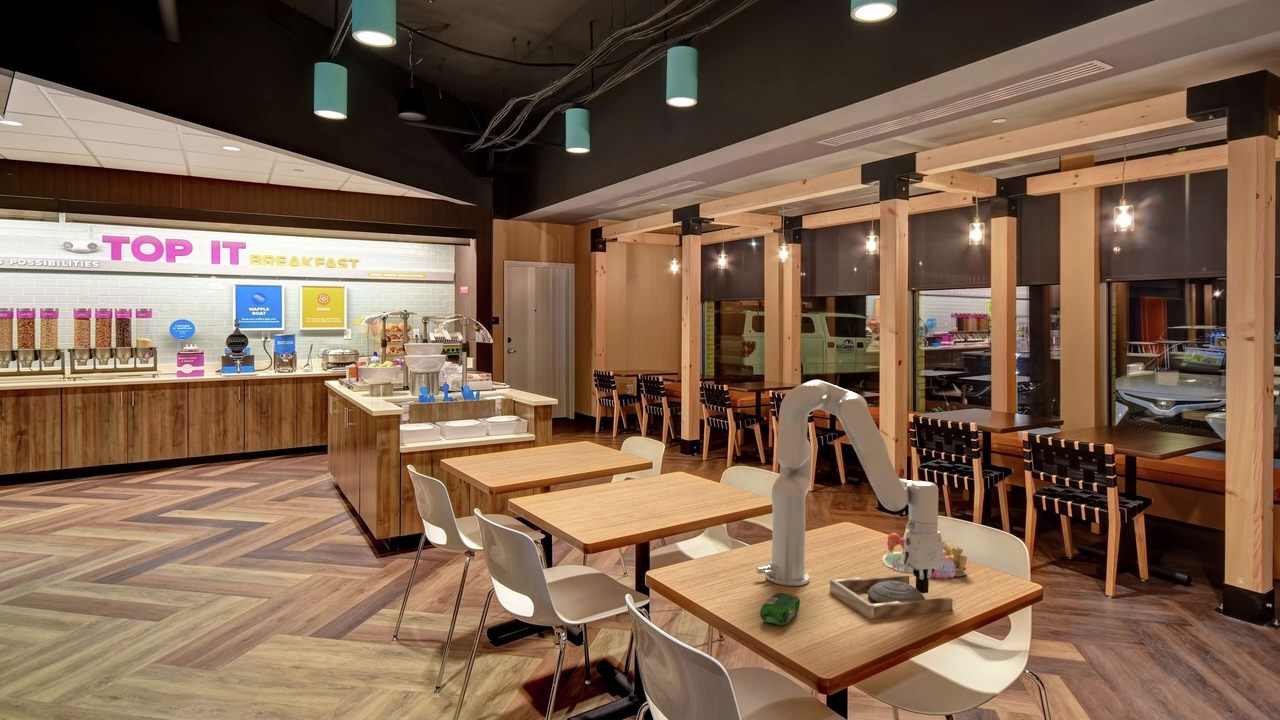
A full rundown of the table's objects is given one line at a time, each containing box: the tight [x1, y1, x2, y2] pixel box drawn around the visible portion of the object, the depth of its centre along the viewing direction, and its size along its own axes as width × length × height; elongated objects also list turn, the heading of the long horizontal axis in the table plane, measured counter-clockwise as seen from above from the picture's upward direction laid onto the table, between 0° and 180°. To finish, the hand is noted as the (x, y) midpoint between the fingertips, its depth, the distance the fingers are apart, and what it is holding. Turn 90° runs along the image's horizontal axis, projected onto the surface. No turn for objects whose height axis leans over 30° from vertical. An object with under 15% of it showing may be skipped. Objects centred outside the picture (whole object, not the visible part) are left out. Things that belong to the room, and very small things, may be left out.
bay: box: [829, 573, 954, 620], centre depth 192 cm, size 25×19×4 cm
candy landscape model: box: [881, 532, 968, 580], centre depth 221 cm, size 25×24×9 cm
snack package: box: [759, 592, 801, 626], centre depth 179 cm, size 7×16×5 cm, turn 148°
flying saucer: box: [867, 581, 926, 603], centre depth 192 cm, size 15×15×6 cm
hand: (922, 591), depth 195 cm, fingers closed
